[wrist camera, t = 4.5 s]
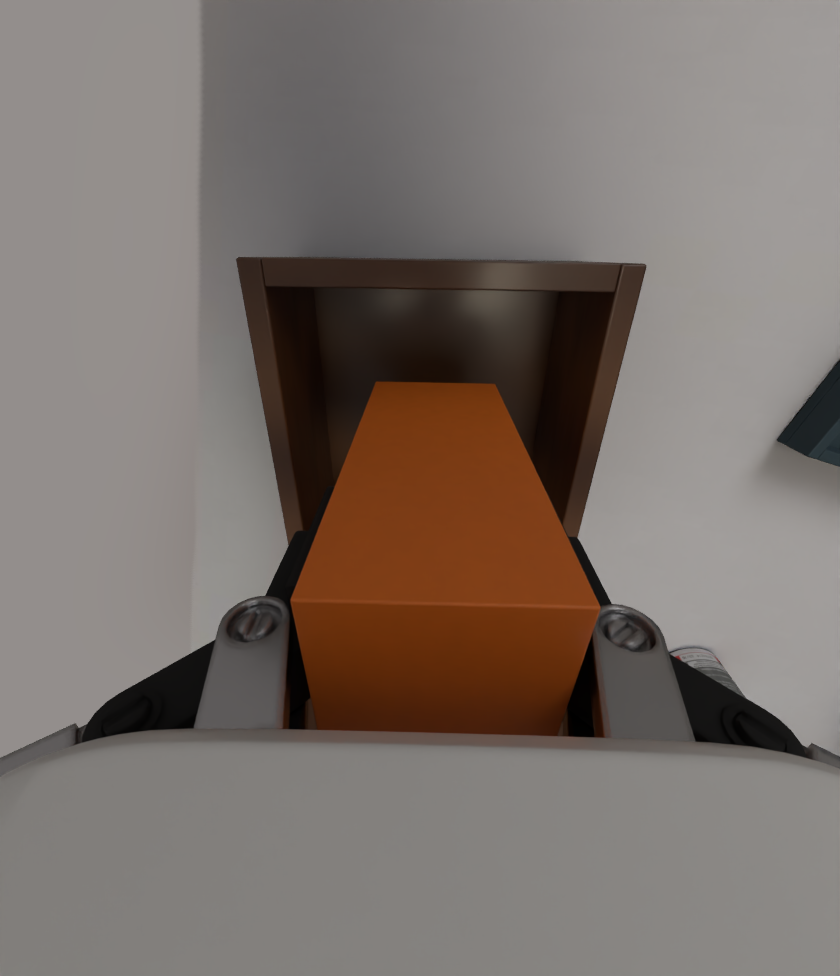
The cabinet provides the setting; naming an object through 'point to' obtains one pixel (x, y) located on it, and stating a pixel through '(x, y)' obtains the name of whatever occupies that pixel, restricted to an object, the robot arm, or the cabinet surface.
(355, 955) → the robot arm
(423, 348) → the chest
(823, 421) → the tray
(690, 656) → the pill bottle
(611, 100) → the cabinet surface
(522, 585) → the block
